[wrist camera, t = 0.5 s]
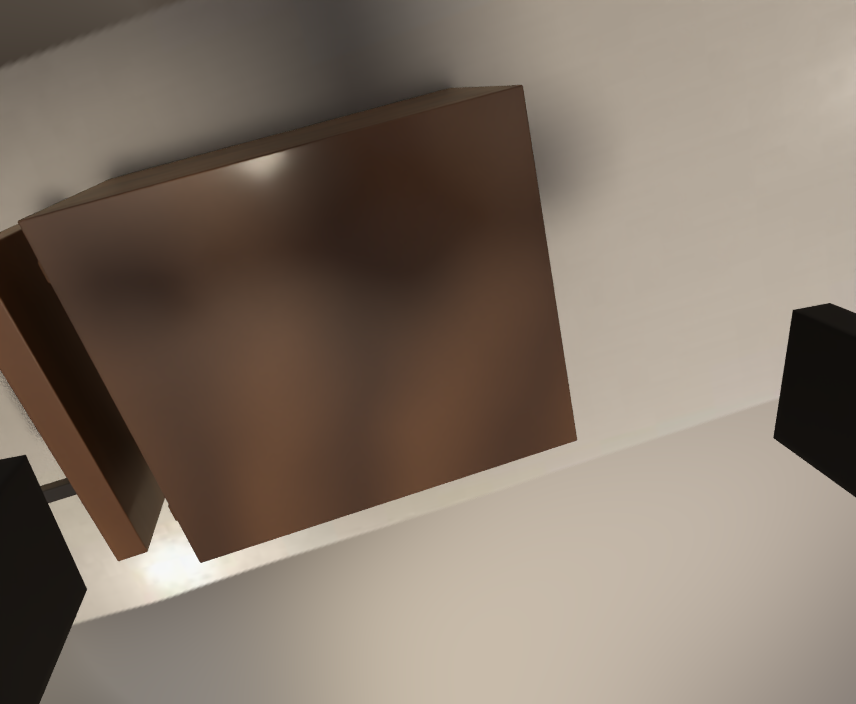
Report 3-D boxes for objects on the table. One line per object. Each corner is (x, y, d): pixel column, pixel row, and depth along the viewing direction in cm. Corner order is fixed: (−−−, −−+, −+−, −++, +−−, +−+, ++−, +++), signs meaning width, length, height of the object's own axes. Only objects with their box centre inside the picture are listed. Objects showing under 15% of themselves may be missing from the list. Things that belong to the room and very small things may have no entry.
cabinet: (225, 435, 32) (199, 563, 24) (109, 178, 27) (15, 221, 18) (503, 350, 34) (577, 440, 25) (450, 87, 28) (523, 84, 19)
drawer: (61, 484, 31) (-10, 603, 23) (-86, 248, 25) (-236, 308, 18) (429, 370, 32) (467, 449, 25) (364, 126, 27) (389, 138, 20)
